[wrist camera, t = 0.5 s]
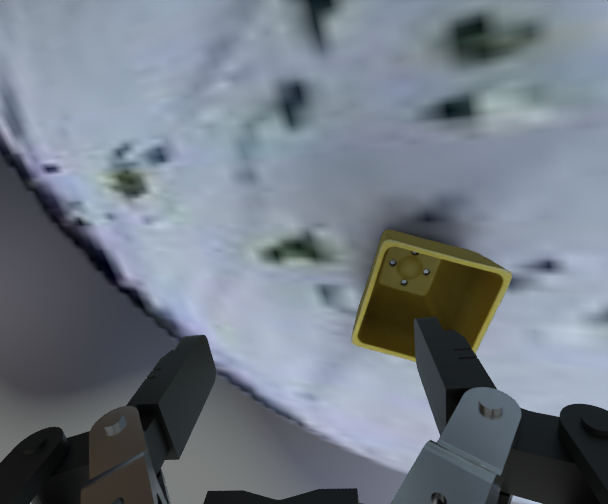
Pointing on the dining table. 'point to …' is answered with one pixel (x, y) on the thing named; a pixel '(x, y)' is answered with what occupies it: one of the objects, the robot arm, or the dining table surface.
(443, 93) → the dining table surface
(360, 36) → the dining table surface
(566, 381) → the dining table surface
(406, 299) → the flower pot
